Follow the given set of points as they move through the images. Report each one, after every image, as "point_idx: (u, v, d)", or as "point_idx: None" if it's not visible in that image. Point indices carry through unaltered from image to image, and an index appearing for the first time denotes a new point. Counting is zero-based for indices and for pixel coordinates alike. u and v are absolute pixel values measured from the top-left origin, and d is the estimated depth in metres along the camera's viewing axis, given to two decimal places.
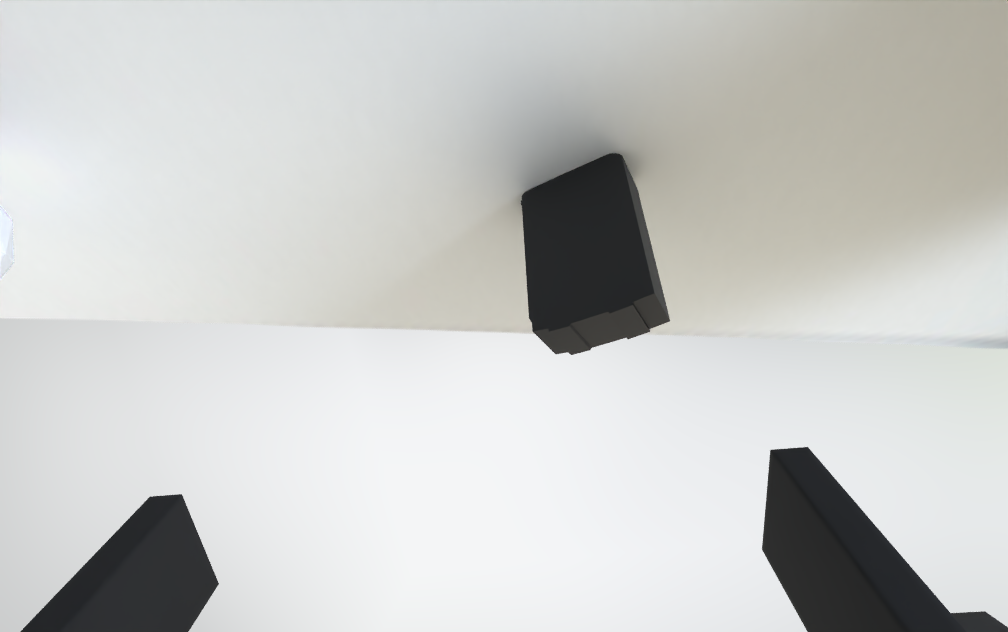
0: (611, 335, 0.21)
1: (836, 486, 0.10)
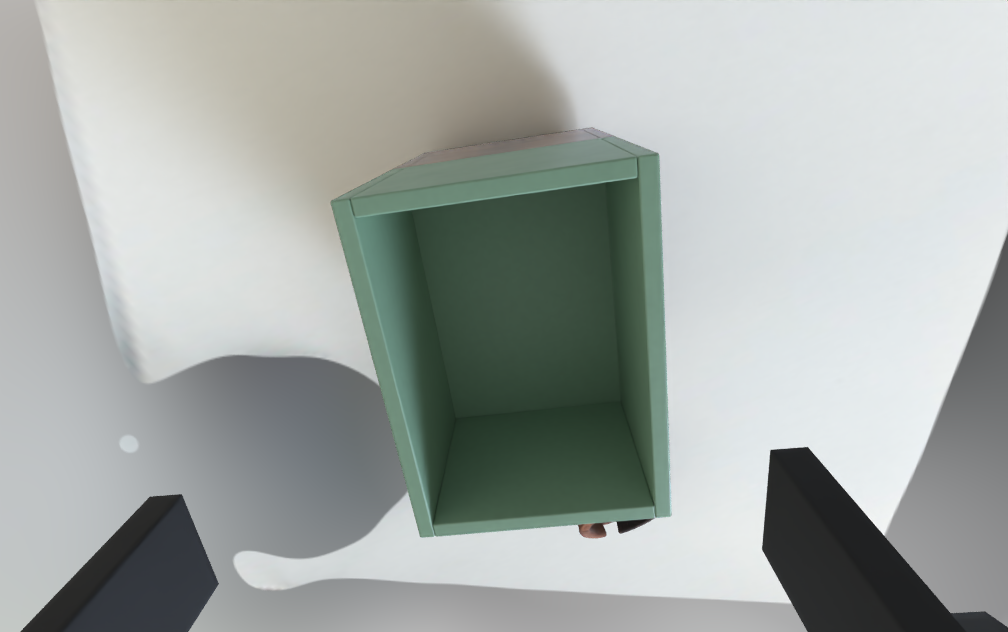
0: None
1: (836, 486, 0.10)
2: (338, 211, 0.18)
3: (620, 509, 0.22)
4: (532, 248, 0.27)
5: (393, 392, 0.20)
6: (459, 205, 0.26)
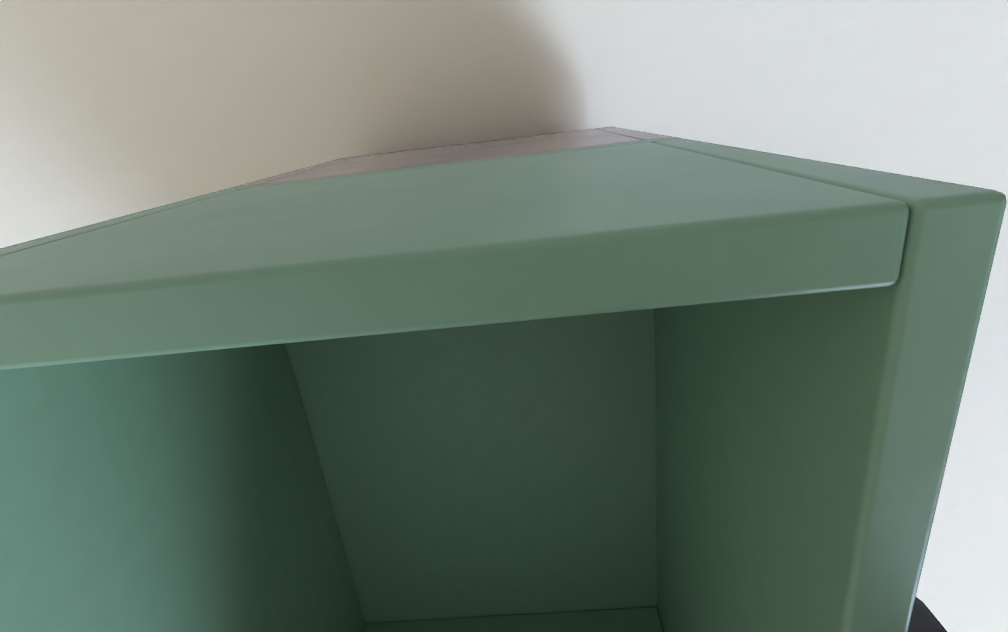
0: None
1: None
2: None
3: None
4: (505, 349, 0.14)
5: None
6: None
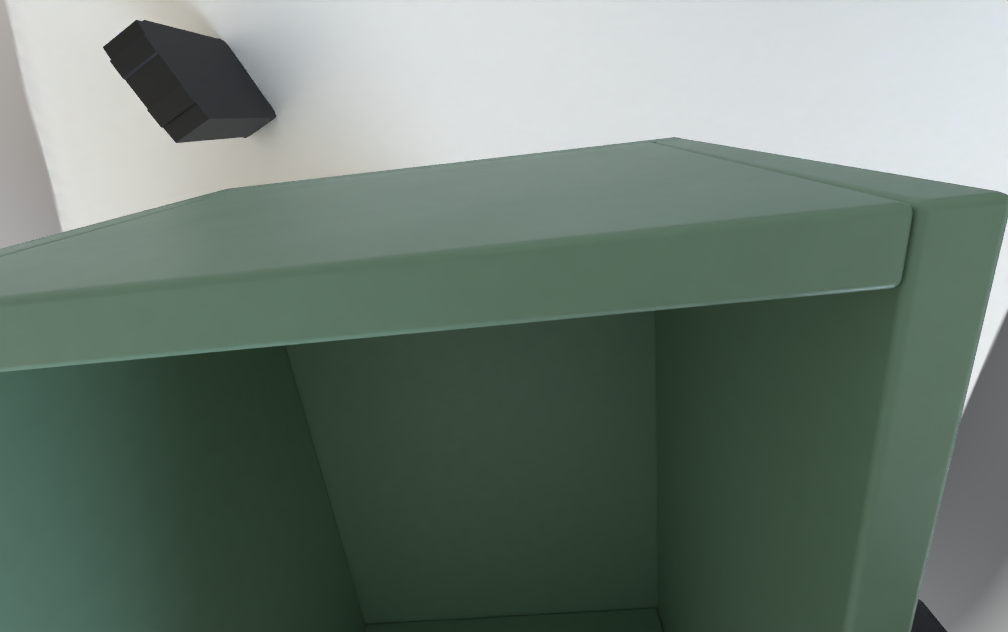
0: (148, 94, 0.24)
1: None
2: None
3: None
4: (505, 350, 0.14)
5: None
6: None
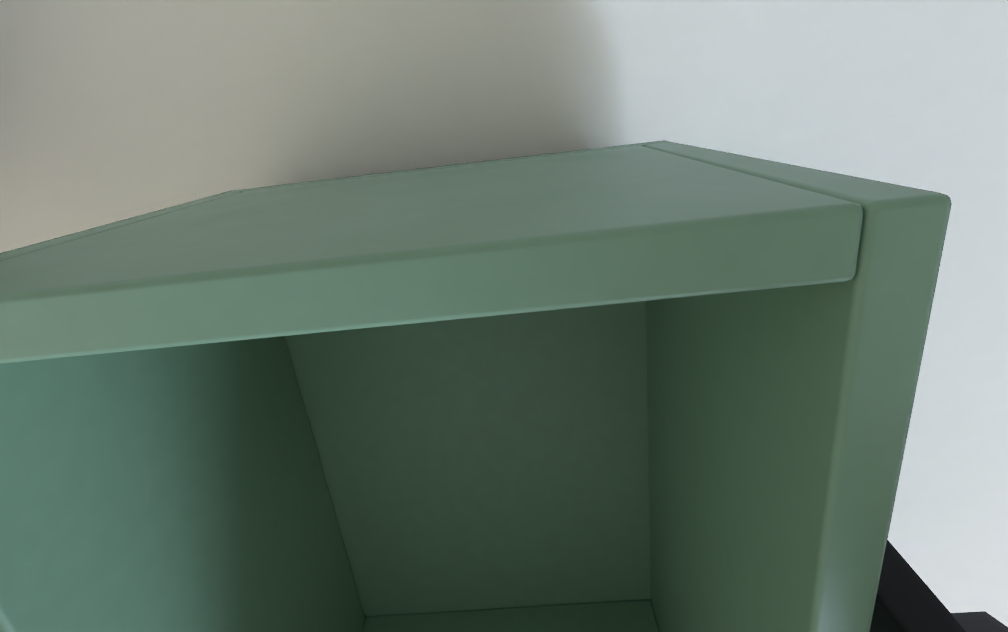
0: None
1: None
2: None
3: None
4: (501, 347, 0.14)
5: None
6: None
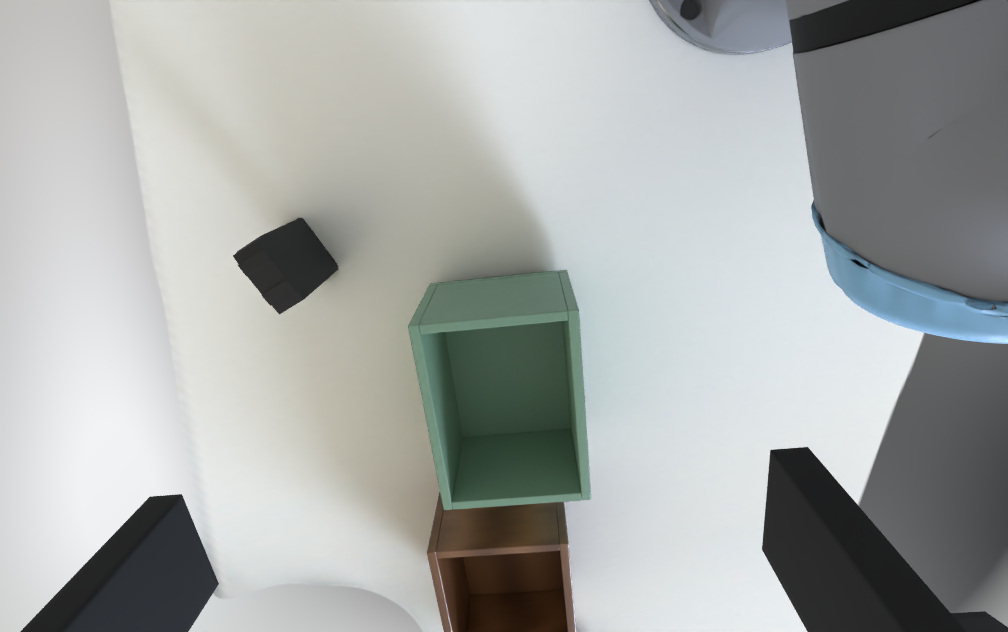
0: (262, 285, 0.35)
1: (836, 486, 0.10)
2: (412, 330, 0.34)
3: (561, 494, 0.38)
4: (515, 333, 0.43)
5: (434, 425, 0.36)
6: None
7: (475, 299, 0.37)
